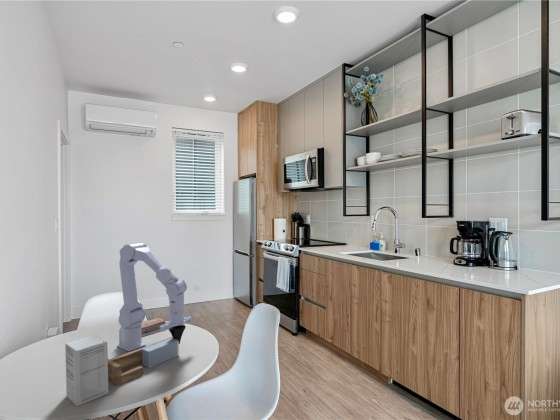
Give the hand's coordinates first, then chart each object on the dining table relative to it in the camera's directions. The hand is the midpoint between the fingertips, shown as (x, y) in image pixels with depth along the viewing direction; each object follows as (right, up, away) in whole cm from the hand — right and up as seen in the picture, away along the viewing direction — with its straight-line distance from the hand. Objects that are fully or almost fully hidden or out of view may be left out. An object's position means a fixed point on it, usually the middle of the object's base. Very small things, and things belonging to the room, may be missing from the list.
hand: (177, 343), depth 137 cm
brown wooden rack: (-8, -4, -11) cm, 14 cm away
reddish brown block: (-22, -5, +24) cm, 33 cm away
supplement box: (-19, -4, -31) cm, 36 cm away
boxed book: (-4, -4, -7) cm, 9 cm away
